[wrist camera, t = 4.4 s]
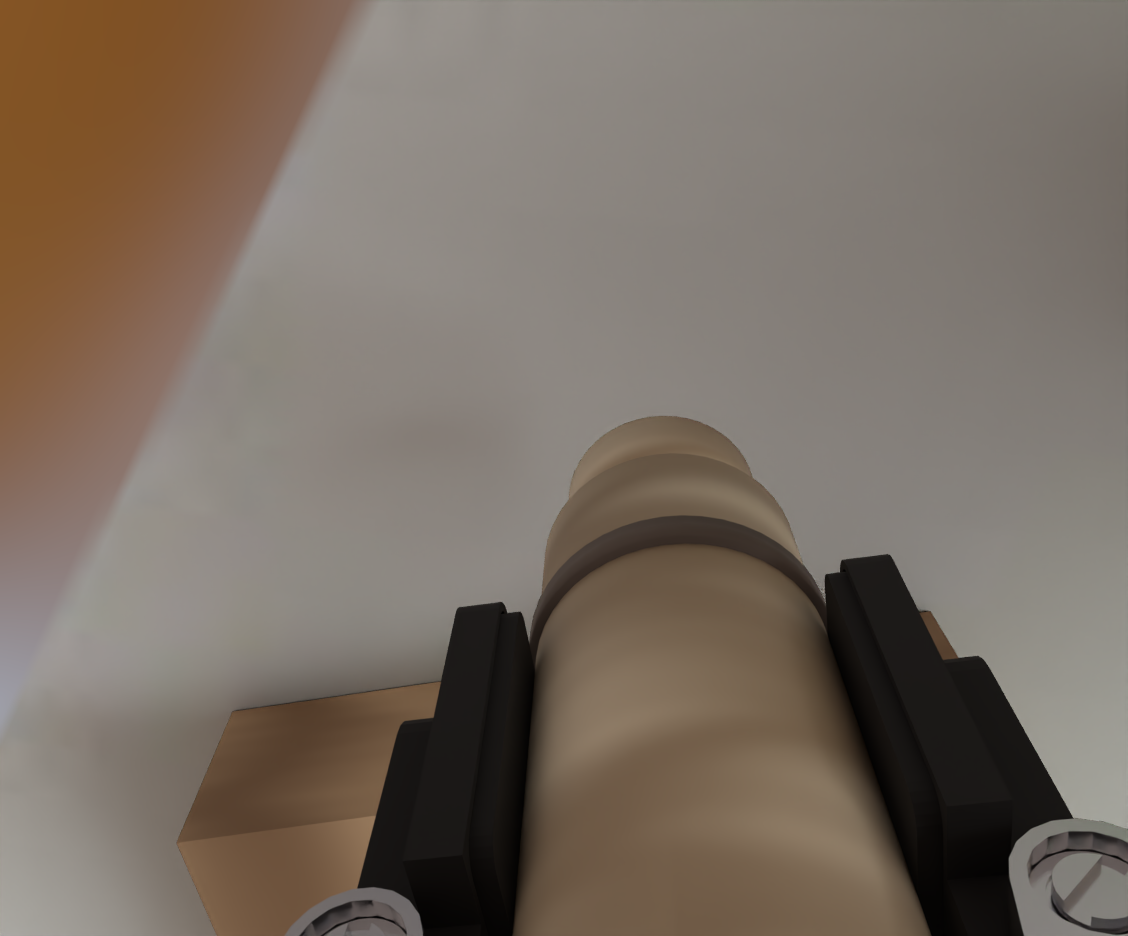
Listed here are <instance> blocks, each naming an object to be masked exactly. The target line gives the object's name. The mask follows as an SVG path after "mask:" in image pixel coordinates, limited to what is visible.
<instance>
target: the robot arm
mask: <svg viewBox="0 0 1128 936" xmlns="http://www.w3.org/2000/svg"><path fill="white" fill-rule="evenodd" d="M825 595H826V611H827V627H828V638H829V641H830V644H831V647H832V650H833V653H834V655H835V658H836V661H837V664H838V667H839V670H840V673H841V676H842V679H843V682H844V684H845V687H846V690H847V693H848V696H849V699H850V702H851V705H852V708H853V710H854V713H855V716H856V719H857V722H858V725H859V728H860V731H861V734H862V737H863V739H864V742H865V745H866V748H867V751H868V754H869V757H870V760H871V763H872V766H873V768H874V771H875V774H876V777H877V780H878V783H879V786H880V789H881V792H882V794H883V797H884V800H885V803H886V806H887V809H888V812H889V815H890V818H891V821H892V823H893V826H894V829H895V832H896V835H897V838H898V841H899V844H900V847H901V850H902V852H903V855H904V858H905V861H906V864H907V867H908V870H909V873H910V876H911V879H912V881H913V884H914V887H915V890H916V893H917V896H918V899H919V901H920V904H921V907H922V910H923V913H924V916H925V919H926V922H927V924H928V927H929V930H930V933H931V936H1128V829H1125V828H1122V827H1119V826H1116V825H1113V824H1110V823H1107V822H1103V821H1095V820H1087V819H1078V818H1075V819H1074V818H1073V817H1072V815H1071V813H1070V811H1069V810H1068V808H1067V806H1066V804H1065V802H1064V801H1063V799H1062V797H1061V795H1060V793H1059V792H1058V790H1057V788H1056V786H1055V784H1054V783H1053V781H1052V779H1051V777H1050V776H1049V774H1048V772H1047V770H1046V768H1045V767H1044V765H1043V763H1042V761H1041V759H1040V758H1039V756H1038V754H1037V752H1036V750H1035V749H1034V747H1033V745H1032V743H1031V742H1030V740H1029V738H1028V736H1027V734H1026V733H1025V731H1024V729H1023V727H1022V725H1021V724H1020V722H1019V720H1018V718H1017V716H1016V715H1015V713H1014V711H1013V709H1012V708H1011V706H1010V704H1009V702H1008V700H1007V699H1006V697H1005V695H1004V693H1003V691H1002V690H1001V688H1000V686H999V684H998V682H997V681H996V679H995V677H994V675H993V674H992V672H991V670H990V668H989V667H988V665H987V664H986V662H985V661H984V660H983V659H982V658H980V657H979V656H973V657H964V658H955V659H946V660H943V659H942V657H941V655H940V653H939V651H938V649H937V647H936V645H935V643H934V641H933V639H932V637H931V635H930V633H929V631H928V629H927V627H926V625H925V623H924V621H923V619H922V617H921V615H920V613H919V611H918V609H917V607H916V605H915V603H914V601H913V599H912V597H911V595H910V593H909V591H908V589H907V587H906V585H905V583H904V581H903V579H902V577H901V575H900V573H899V571H898V569H897V567H896V565H895V563H894V561H893V559H892V557H891V556H890V555H888V554H886V555H878V556H870V557H862V558H854V559H846V560H842V561H841V565H840V573H831V574H826V575H825ZM534 678H535V669H534V664H533V659H532V655H531V650H530V645H529V641H528V636H527V631H526V627H525V622H524V618H523V615H522V613H521V612H513V613H507V610H506V608H505V605H504V604H503V603H502V602H498V603H490V604H482V605H474V606H466V607H459V608H458V609H457V611H456V615H455V619H454V624H453V629H452V633H451V638H450V643H449V647H448V652H447V657H446V661H445V666H444V671H443V675H442V680H441V684H440V689H439V694H438V698H437V703H436V708H435V712H434V717H433V718H426V719H417V720H408V721H404V722H403V723H402V724H401V725H400V727H399V730H398V733H397V736H396V740H395V743H394V747H393V751H392V755H391V759H390V763H389V767H388V771H387V774H386V778H385V782H384V786H383V790H382V794H381V798H380V802H379V806H378V809H377V813H376V817H375V821H374V825H373V829H372V833H371V837H370V840H369V844H368V848H367V852H366V856H365V860H364V864H363V868H362V871H361V875H360V879H359V883H358V887H357V889H351V890H348V891H346V892H343V893H340V894H337V895H334V896H331V897H329V898H327V899H325V900H324V901H322V902H320V903H319V904H317V905H315V906H314V907H312V908H310V909H309V910H308V911H307V912H306V913H304V914H303V915H302V916H301V917H300V918H299V919H298V920H297V921H296V922H295V923H294V924H293V925H292V926H291V927H290V928H289V930H288V931H287V933H286V934H285V936H512V934H513V922H514V910H515V899H516V887H517V875H518V864H519V852H520V841H521V829H522V817H523V806H524V794H525V782H526V771H527V759H528V748H529V736H530V724H531V713H532V701H533V689H534Z"/></svg>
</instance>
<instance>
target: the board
mask: <svg viewBox="0 0 1128 936" xmlns="http://www.w3.org/2000/svg"><path fill="white" fill-rule="evenodd" d="M920 615H921V617H922V619H923V621H924V623H925V625H926V627H927V629H928V631H929V633H930V635H931V637H932V639H933V641H934V643H935V645H936V647H937V649H938V651H939V653H940V655H941V657H942V659H943V660H946V659H955V658H958V656H957V654H956V653H955V651H954V649H953V648H952V646H951V645H950V643H949V641H948V640H947V638H946V636H945V635H944V633H943V631H942V630H941V628H940V626H939V625H938V623H937V621H936V620H935V618H934V616H933V615H932V613H931V611H928V612H921V613H920ZM440 684H441V682H435V683H428V684H421V685H414V686H407V687H400V688H393V689H386V690H379V691H372V692H365V693H358V694H351V695H345V696H338V697H331V698H324V699H317V700H310V701H303V702H296V703H289V704H282V705H275V706H268V707H261V708H254V709H247V710H240V711H233V712H232V714H231V716H230V719H229V721H228V723H227V726H226V728H225V730H224V733H223V735H222V737H221V740H220V742H219V744H218V747H217V749H216V751H215V754H214V756H213V758H212V761H211V763H210V766H209V768H208V770H207V773H206V775H205V777H204V780H203V782H202V784H201V787H200V789H199V791H198V794H197V796H196V798H195V801H194V803H193V805H192V808H191V810H190V812H189V815H188V817H187V819H186V822H185V824H184V826H183V829H182V831H181V833H180V836H179V838H178V840H177V845H178V848H179V850H180V852H181V854H182V857H183V859H184V861H185V864H186V866H187V868H188V870H189V873H190V875H191V877H192V880H193V882H194V884H195V886H196V889H197V891H198V893H199V896H200V898H201V900H202V902H203V905H204V907H205V909H206V912H207V914H208V916H209V918H210V921H211V923H212V925H213V928H214V930H215V932H216V934H217V936H285V934H286V933H287V931H288V930H289V928H290V927H291V926H292V925H293V924H294V923H295V922H296V921H297V920H298V919H299V918H300V917H301V916H302V915H303V914H304V913H306V912H307V911H308V910H309V909H310V908H312V907H314V906H315V905H317V904H319V903H320V902H322V901H324V900H325V899H327V898H329V897H331V896H334V895H337V894H340V893H343V892H346V891H348V890H351V889H357V887H358V883H359V879H360V875H361V871H362V868H363V864H364V860H365V856H366V852H367V848H368V844H369V840H370V837H371V833H372V829H373V825H374V821H375V817H376V813H377V809H378V806H379V802H380V798H381V794H382V790H383V786H384V782H385V778H386V774H387V771H388V767H389V763H390V759H391V755H392V751H393V747H394V743H395V740H396V736H397V733H398V730H399V727H400V725H401V724H402V723H403V722H404V721H408V720H417V719H426V718H433V717H434V712H435V708H436V703H437V698H438V694H439V689H440Z"/></svg>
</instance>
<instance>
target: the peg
mask: <svg viewBox="0 0 1128 936" xmlns="http://www.w3.org/2000/svg"><path fill="white" fill-rule="evenodd" d="M529 645H530V650H531V655H532V659H533V664H534V669H535V678H534V689H533V701H532V713H531V724H530V736H529V748H528V759H527V771H526V782H525V794H524V806H523V817H522V829H521V841H520V852H519V864H518V875H517V887H516V899H515V910H514V922H513V934H512V936H931V933H930V930H929V927H928V924H927V922H926V919H925V916H924V913H923V910H922V907H921V904H920V901H919V899H918V896H917V893H916V890H915V887H914V884H913V881H912V879H911V876H910V873H909V870H908V867H907V864H906V861H905V858H904V855H903V852H902V850H901V847H900V844H899V841H898V838H897V835H896V832H895V829H894V826H893V823H892V821H891V818H890V815H889V812H888V809H887V806H886V803H885V800H884V797H883V794H882V792H881V789H880V786H879V783H878V780H877V777H876V774H875V771H874V768H873V766H872V763H871V760H870V757H869V754H868V751H867V748H866V745H865V742H864V739H863V737H862V734H861V731H860V728H859V725H858V722H857V719H856V716H855V713H854V710H853V708H852V705H851V702H850V699H849V696H848V693H847V690H846V687H845V684H844V682H843V679H842V676H841V673H840V670H839V667H838V664H837V661H836V658H835V655H834V653H833V650H832V647H831V644H830V641H829V638H828V627H827V611H826V604H825V601H824V598H823V596H822V594H821V592H820V590H819V588H818V586H817V584H816V582H815V580H814V579H813V577H812V576H811V575H810V573H809V572H808V570H807V569H806V568H805V566H804V565H803V563H802V560H801V557H800V554H799V551H798V548H797V545H796V542H795V540H794V537H793V534H792V531H791V528H790V525H789V522H788V520H787V518H786V516H785V514H784V512H783V510H782V509H781V507H780V506H779V504H778V503H777V502H776V500H775V499H774V497H773V496H772V495H771V494H770V493H769V492H768V491H767V490H766V489H765V488H764V487H763V486H762V485H761V484H760V483H758V482H757V481H756V480H755V479H753V477H752V474H751V471H750V468H749V466H748V464H747V462H746V460H745V458H744V457H743V455H742V454H741V453H740V451H739V450H738V448H737V447H736V446H735V445H734V444H733V443H732V442H731V441H730V440H729V439H728V438H726V437H725V436H724V435H723V434H721V433H720V432H718V431H716V430H715V429H713V428H711V427H710V426H707V425H705V424H703V423H700V422H698V421H694V420H691V419H687V418H681V417H675V416H655V417H647V418H642V419H637V420H634V421H631V422H628V423H625V424H623V425H621V426H619V427H617V428H615V429H613V430H611V431H610V432H608V433H607V434H605V435H604V436H602V437H601V438H600V439H599V440H597V441H596V442H595V443H594V444H593V445H592V446H591V447H590V448H589V449H588V451H587V452H586V453H585V454H584V456H583V457H582V459H581V460H580V462H579V464H578V466H577V468H576V470H575V472H574V475H573V478H572V480H571V485H570V490H569V500H568V501H567V503H566V504H565V506H564V507H563V508H562V510H561V511H560V513H559V514H558V516H557V518H556V520H555V522H554V524H553V526H552V529H551V532H550V535H549V538H548V541H547V546H546V552H545V561H544V573H543V585H542V595H541V597H540V599H539V601H538V604H537V607H536V610H535V613H534V616H533V621H532V626H531V632H530V642H529Z"/></svg>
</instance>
